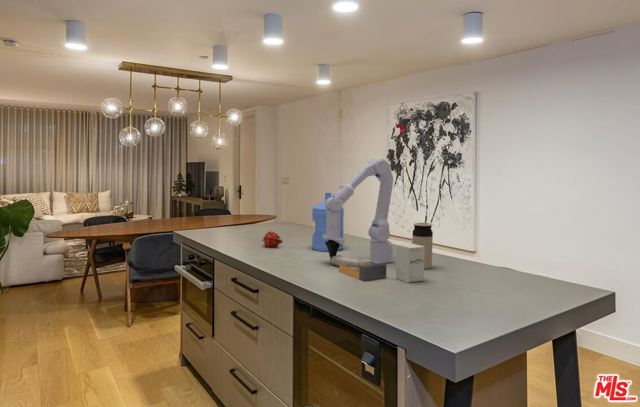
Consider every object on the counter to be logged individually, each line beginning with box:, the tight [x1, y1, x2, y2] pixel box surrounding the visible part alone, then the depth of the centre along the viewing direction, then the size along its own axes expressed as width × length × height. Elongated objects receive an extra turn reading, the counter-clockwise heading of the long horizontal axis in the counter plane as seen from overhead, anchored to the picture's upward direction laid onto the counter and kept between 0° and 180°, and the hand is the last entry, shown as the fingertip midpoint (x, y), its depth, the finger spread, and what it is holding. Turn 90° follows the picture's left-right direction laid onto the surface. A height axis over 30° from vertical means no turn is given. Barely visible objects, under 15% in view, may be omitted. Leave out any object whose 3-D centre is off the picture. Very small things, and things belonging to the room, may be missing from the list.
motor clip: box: [338, 263, 387, 282], centre depth 165 cm, size 10×17×5 cm, turn 30°
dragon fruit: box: [262, 230, 283, 249], centre depth 221 cm, size 8×8×12 cm
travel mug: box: [411, 222, 434, 270], centre depth 177 cm, size 8×8×18 cm
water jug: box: [311, 192, 345, 253], centre depth 216 cm, size 16×16×28 cm
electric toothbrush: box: [329, 254, 371, 271], centre depth 171 cm, size 5×7×25 cm
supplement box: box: [395, 243, 425, 284], centre depth 157 cm, size 7×7×13 cm
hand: (332, 258), depth 182 cm, fingers closed
